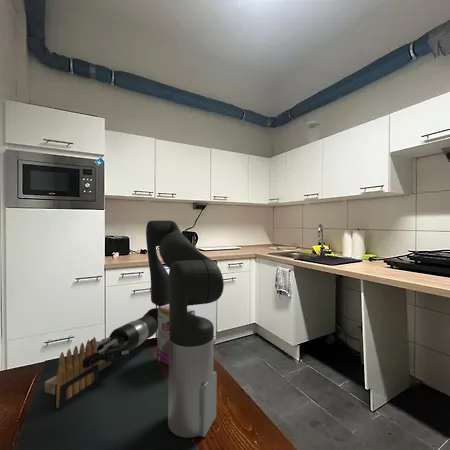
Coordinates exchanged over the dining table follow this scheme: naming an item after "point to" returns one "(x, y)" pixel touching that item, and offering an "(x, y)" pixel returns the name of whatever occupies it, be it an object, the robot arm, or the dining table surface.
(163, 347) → the candy bar box
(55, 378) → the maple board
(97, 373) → the ammunition clip
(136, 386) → the dining table surface
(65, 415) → the dining table surface
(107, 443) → the dining table surface
